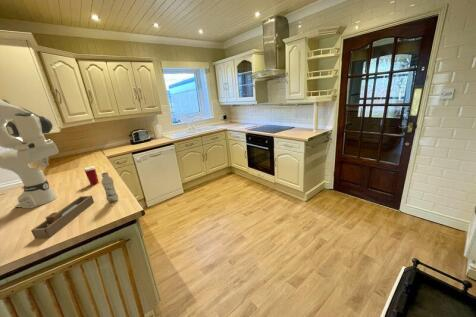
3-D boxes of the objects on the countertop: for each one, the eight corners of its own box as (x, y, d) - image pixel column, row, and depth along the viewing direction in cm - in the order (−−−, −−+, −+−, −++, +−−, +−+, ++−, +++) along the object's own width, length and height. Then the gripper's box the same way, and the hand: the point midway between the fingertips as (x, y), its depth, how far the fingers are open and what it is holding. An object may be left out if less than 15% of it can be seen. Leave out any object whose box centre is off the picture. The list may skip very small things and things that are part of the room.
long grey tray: (35, 238, 103) (30, 230, 101) (82, 203, 135) (80, 196, 133) (49, 237, 103) (45, 229, 101) (94, 202, 135) (91, 195, 133)
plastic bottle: (110, 199, 138) (102, 172, 131) (120, 197, 138) (112, 171, 131) (105, 204, 131) (96, 176, 125) (116, 202, 132) (107, 174, 125)
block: (48, 224, 109) (45, 217, 107) (55, 219, 113) (52, 212, 112) (56, 224, 109) (53, 216, 107) (63, 218, 113) (60, 212, 111)
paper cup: (102, 181, 168) (97, 166, 164) (92, 186, 162) (87, 169, 157) (96, 180, 171) (91, 165, 167) (87, 184, 165) (81, 169, 160)
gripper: (46, 138, 121) (55, 160, 125) (10, 148, 102) (22, 173, 106) (57, 137, 121) (65, 159, 125) (23, 147, 101) (34, 172, 106)
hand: (45, 166), depth 116 cm, fingers closed
